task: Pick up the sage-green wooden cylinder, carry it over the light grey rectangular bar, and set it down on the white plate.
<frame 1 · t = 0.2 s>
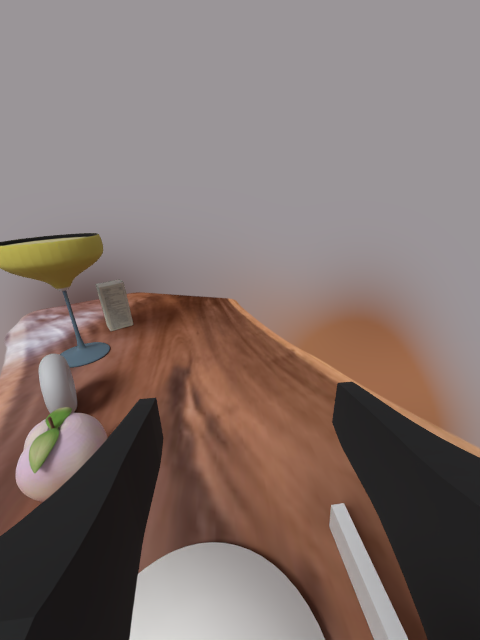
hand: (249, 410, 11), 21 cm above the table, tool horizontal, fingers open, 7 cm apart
skincare box: (120, 326, 78), on the table
cocktail glass: (84, 355, 63), on the table
decorative fruit: (79, 485, 33), on the table
donut: (68, 412, 45), on the table
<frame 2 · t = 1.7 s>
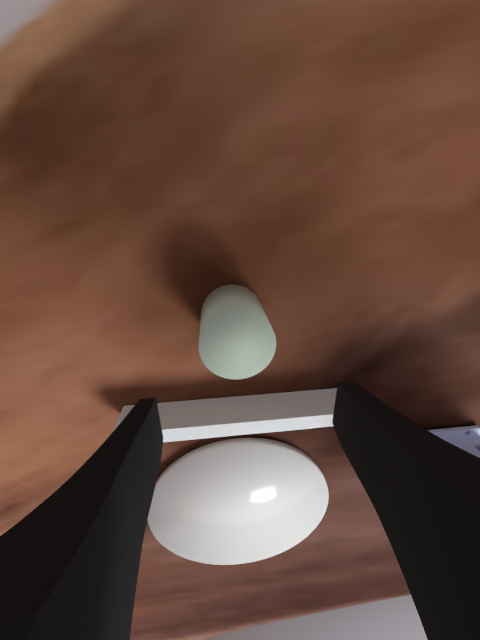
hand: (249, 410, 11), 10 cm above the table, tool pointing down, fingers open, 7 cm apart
green cylinder: (231, 313, 21), on the table
white plate: (239, 504, 29), on the table
light grey rectangular bar: (235, 402, 24), on the table
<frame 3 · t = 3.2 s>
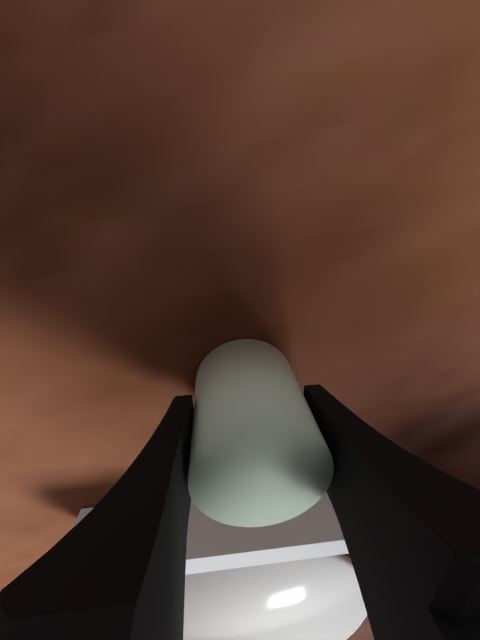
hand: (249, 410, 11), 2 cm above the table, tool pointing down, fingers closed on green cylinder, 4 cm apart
green cylinder: (244, 381, 13), on the table, touching gripper
white plate: (249, 611, 22), on the table
light grey rectangular bar: (246, 497, 16), on the table
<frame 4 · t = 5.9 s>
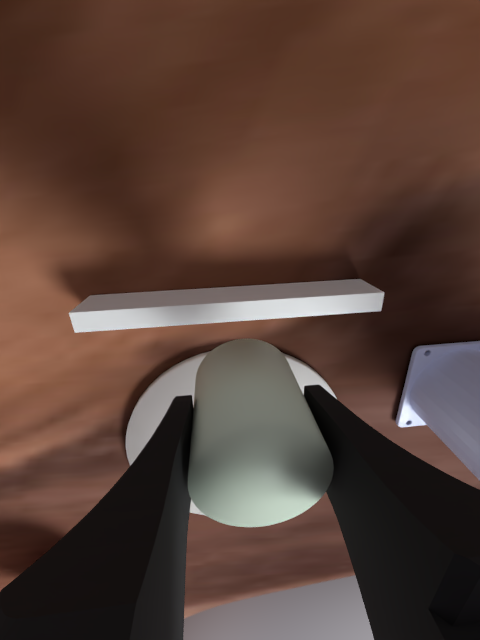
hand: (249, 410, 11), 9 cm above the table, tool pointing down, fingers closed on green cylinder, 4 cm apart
green cylinder: (243, 381, 13), point 7 cm above the table, touching gripper
white plate: (237, 439, 24), on the table
light grey rectangular bar: (230, 295, 19), on the table
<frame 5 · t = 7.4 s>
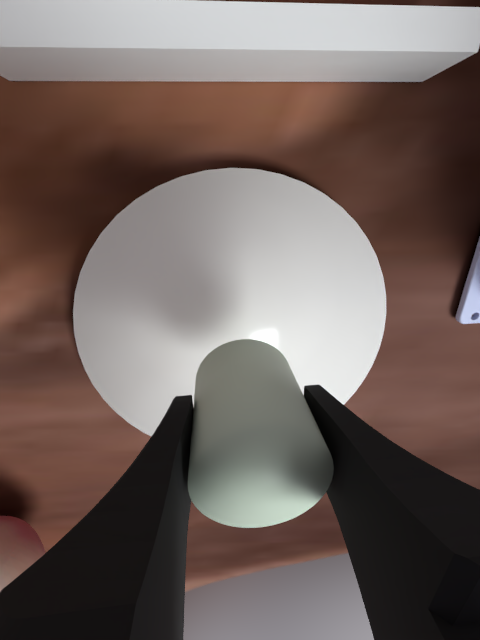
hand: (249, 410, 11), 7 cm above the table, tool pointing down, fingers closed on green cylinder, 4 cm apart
decorative fruit: (8, 511, 22), on the table
green cylinder: (243, 381, 13), point 5 cm above the table, touching gripper
white plate: (236, 334, 17), on the table
light grey rectangular bar: (226, 63, 12), on the table
when the fingers open (4 cm above the table, at t = 8.4 s): green cylinder drops 1 cm, resting on white plate.
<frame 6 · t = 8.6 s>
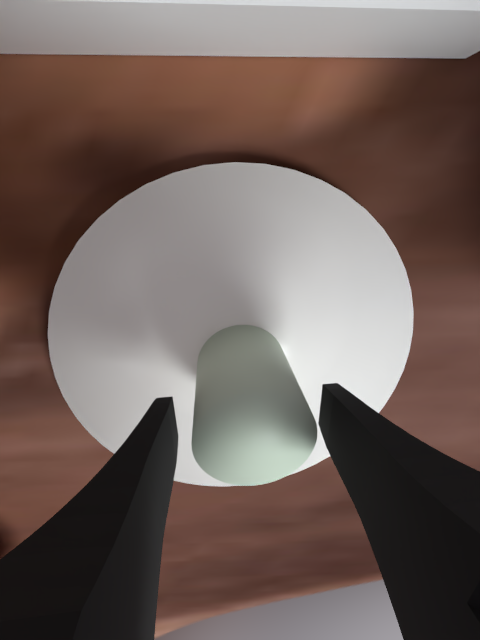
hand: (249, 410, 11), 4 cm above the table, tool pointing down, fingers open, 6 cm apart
green cylinder: (241, 364, 14), point 1 cm above the table, touching white plate
white plate: (239, 356, 15), on the table
light grey rectangular bar: (229, 34, 10), on the table
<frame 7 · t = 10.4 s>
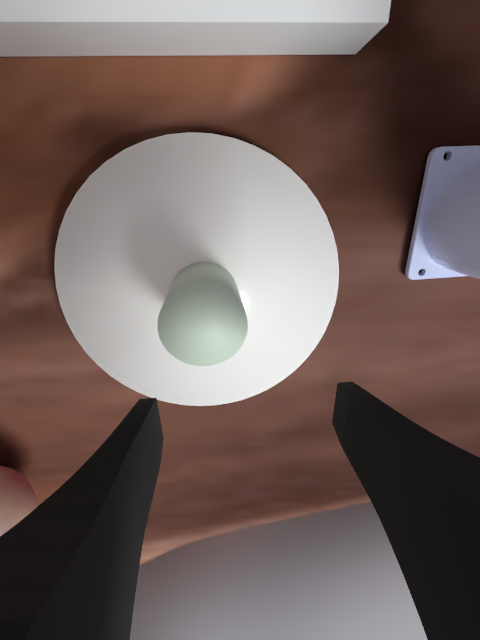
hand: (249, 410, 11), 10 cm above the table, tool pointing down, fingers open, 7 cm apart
decorative fruit: (3, 465, 24), on the table
green cylinder: (204, 295, 19), point 1 cm above the table, touching white plate
white plate: (204, 291, 19), on the table
light grey rectangular bar: (180, 39, 14), on the table
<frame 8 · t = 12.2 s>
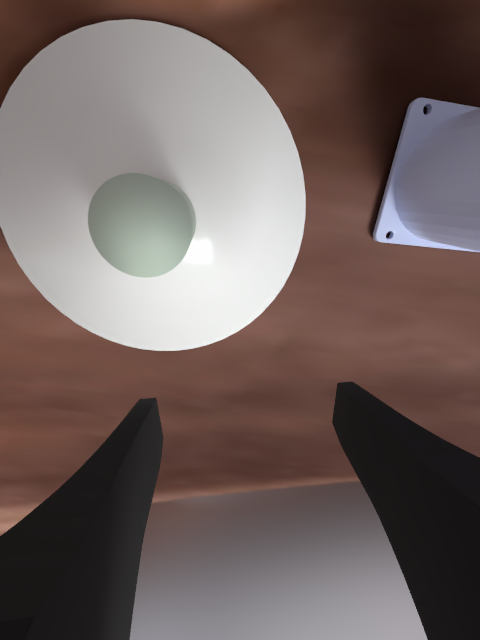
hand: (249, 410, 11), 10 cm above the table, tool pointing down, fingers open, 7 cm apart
green cylinder: (159, 220, 17), point 1 cm above the table, touching white plate
white plate: (161, 218, 18), on the table
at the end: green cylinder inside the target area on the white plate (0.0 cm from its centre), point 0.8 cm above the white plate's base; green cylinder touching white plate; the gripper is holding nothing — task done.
